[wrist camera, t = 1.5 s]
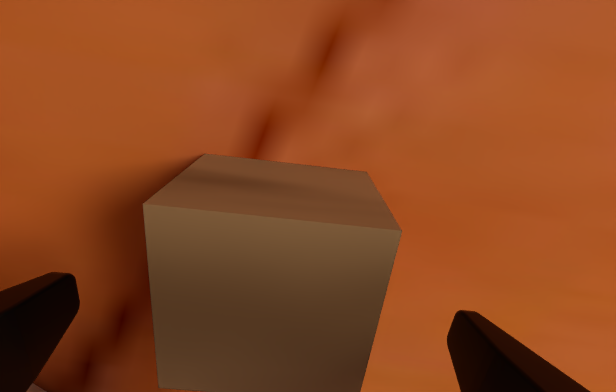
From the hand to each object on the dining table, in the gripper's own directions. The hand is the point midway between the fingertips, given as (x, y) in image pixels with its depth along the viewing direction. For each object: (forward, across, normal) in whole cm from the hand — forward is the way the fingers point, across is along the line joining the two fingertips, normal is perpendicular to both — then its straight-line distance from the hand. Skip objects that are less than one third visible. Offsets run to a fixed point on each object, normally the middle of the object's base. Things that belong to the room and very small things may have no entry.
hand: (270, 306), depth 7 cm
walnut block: (+4, 0, 0) cm, 4 cm away
